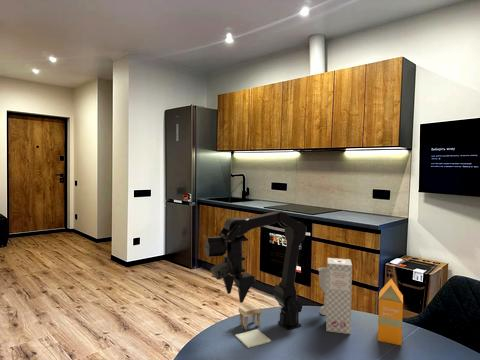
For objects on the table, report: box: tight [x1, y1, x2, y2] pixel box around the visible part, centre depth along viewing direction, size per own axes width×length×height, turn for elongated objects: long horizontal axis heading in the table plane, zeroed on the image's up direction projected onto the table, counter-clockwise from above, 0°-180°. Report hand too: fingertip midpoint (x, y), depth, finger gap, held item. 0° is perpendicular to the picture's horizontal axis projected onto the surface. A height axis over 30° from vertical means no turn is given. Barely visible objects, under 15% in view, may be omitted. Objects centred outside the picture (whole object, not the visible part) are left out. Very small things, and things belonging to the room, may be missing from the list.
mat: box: [234, 328, 272, 349], centre depth 117 cm, size 9×9×1 cm
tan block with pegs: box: [238, 303, 263, 331], centre depth 127 cm, size 7×5×7 cm
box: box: [325, 257, 353, 335], centre depth 126 cm, size 8×8×25 cm
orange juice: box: [377, 278, 404, 346], centre depth 120 cm, size 8×9×20 cm
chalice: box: [317, 266, 327, 316], centre depth 139 cm, size 7×7×18 cm
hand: (234, 297), depth 119 cm, fingers open, 9 cm apart
